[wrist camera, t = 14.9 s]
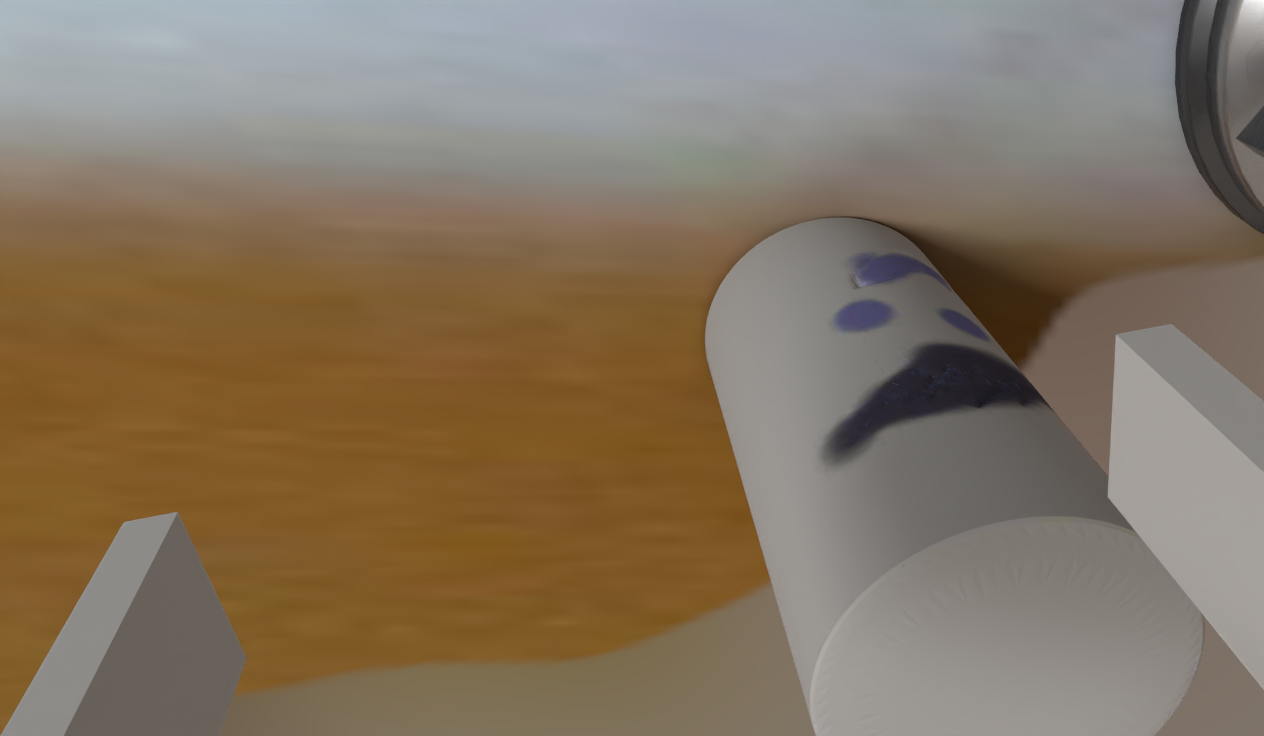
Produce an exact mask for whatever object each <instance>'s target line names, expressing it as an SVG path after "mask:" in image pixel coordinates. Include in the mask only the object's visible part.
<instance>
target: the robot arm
mask: <svg viewBox="0 0 1264 736" xmlns="http://www.w3.org/2000/svg"><path fill="white" fill-rule="evenodd" d="M1112 401H1113V402H1112V420H1111V441H1110V459H1109V479H1108V498H1109V499H1110V500H1111V502H1112V503H1113V504H1114V505H1115V507H1116V508H1117V509H1118V510H1119V511H1120V513H1121V514H1122V515H1123V516H1124V518H1125V519H1126V520H1127V521H1128V523H1129V524H1130V525H1131V526H1132V528H1133V529H1134V530H1135V531H1136V532H1137V534H1138V535H1139V536H1140V537H1141V539H1142V540H1143V541H1144V542H1145V544H1146V545H1147V546H1148V547H1149V549H1150V550H1151V551H1152V552H1153V554H1154V555H1155V556H1156V557H1157V558H1158V560H1159V561H1160V562H1161V563H1162V565H1163V566H1164V567H1165V568H1166V570H1167V571H1168V572H1169V573H1170V575H1171V576H1172V577H1173V578H1174V579H1175V581H1176V582H1177V583H1178V584H1179V586H1180V587H1181V588H1182V589H1183V591H1184V592H1185V593H1186V594H1187V596H1188V597H1189V598H1190V599H1191V600H1192V602H1193V603H1194V604H1195V605H1196V607H1197V608H1198V609H1199V610H1200V612H1201V613H1202V614H1203V615H1204V617H1205V618H1206V619H1207V620H1208V621H1209V623H1210V624H1211V625H1212V626H1213V628H1214V629H1215V630H1216V631H1217V633H1218V634H1219V635H1220V636H1221V638H1222V639H1223V640H1224V641H1225V642H1226V644H1227V645H1228V646H1229V647H1230V649H1231V650H1232V651H1233V652H1234V654H1235V655H1236V656H1237V657H1238V658H1239V660H1240V661H1241V662H1242V664H1243V665H1244V666H1245V667H1246V668H1247V670H1248V671H1249V672H1250V673H1251V675H1252V676H1253V677H1254V678H1255V679H1256V681H1257V682H1258V683H1259V685H1260V686H1261V687H1262V688H1263V689H1264V401H1263V400H1262V399H1261V398H1260V397H1258V396H1257V395H1256V394H1255V393H1254V392H1253V391H1251V390H1250V389H1249V388H1248V387H1247V386H1245V385H1244V384H1243V383H1242V382H1241V381H1239V380H1238V379H1237V378H1236V377H1235V376H1233V375H1232V374H1231V373H1230V372H1229V371H1227V370H1226V369H1225V368H1224V367H1223V366H1222V365H1220V364H1219V363H1218V362H1217V361H1216V360H1214V359H1213V358H1212V357H1211V356H1210V355H1208V354H1207V353H1206V352H1205V351H1204V350H1202V349H1201V348H1200V347H1199V346H1198V345H1196V344H1195V343H1194V342H1193V341H1192V340H1190V339H1189V338H1188V337H1187V336H1185V335H1184V334H1183V333H1182V332H1181V331H1180V330H1178V329H1177V328H1176V327H1175V326H1174V325H1172V324H1167V325H1162V326H1157V327H1151V328H1146V329H1141V330H1135V331H1130V332H1125V333H1120V334H1116V342H1115V361H1114V381H1113V400H1112ZM245 661H246V656H245V654H244V651H243V649H242V647H241V645H240V643H239V641H238V639H237V637H236V634H235V632H234V630H233V628H232V626H231V624H230V622H229V620H228V618H227V615H226V613H225V611H224V609H223V607H222V605H221V603H220V601H219V598H218V596H217V594H216V592H215V590H214V588H213V586H212V584H211V581H210V579H209V577H208V575H207V573H206V571H205V569H204V567H203V565H202V562H201V560H200V558H199V556H198V554H197V552H196V550H195V548H194V545H193V543H192V541H191V539H190V537H189V535H188V533H187V531H186V528H185V526H184V524H183V522H182V520H181V518H180V516H179V514H178V512H175V513H170V514H165V515H159V516H154V517H149V518H143V519H138V520H133V521H128V522H124V523H123V525H122V526H121V528H120V530H119V532H118V533H117V535H116V537H115V538H114V540H113V542H112V544H111V545H110V547H109V549H108V551H107V552H106V554H105V556H104V557H103V559H102V561H101V563H100V564H99V566H98V568H97V570H96V571H95V573H94V575H93V577H92V578H91V580H90V582H89V583H88V585H87V587H86V589H85V590H84V592H83V594H82V596H81V597H80V599H79V601H78V603H77V604H76V606H75V608H74V609H73V611H72V613H71V615H70V616H69V618H68V620H67V622H66V623H65V625H64V627H63V629H62V630H61V632H60V634H59V635H58V637H57V639H56V641H55V642H54V644H53V646H52V648H51V649H50V651H49V653H48V655H47V656H46V658H45V660H44V661H43V663H42V665H41V667H40V668H39V670H38V672H37V674H36V675H35V677H34V679H33V681H32V682H31V684H30V686H29V687H28V689H27V691H26V693H25V694H24V696H23V698H22V700H21V701H20V703H19V705H18V707H17V708H16V710H15V712H14V713H13V715H12V717H11V719H10V720H9V722H8V724H7V726H6V727H5V729H4V731H3V733H2V734H1V736H220V733H221V730H222V727H223V725H224V721H225V718H226V716H227V713H228V710H229V707H230V704H231V701H232V698H233V695H234V693H235V690H236V687H237V684H238V681H239V678H240V675H241V672H242V669H243V666H244V663H245Z"/></svg>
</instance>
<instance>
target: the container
mask: <svg viewBox="0 0 1264 736" xmlns="http://www.w3.org/2000/svg"><path fill="white" fill-rule="evenodd" d="M705 349H706V356H707V361H708V365H709V368H710V372H711V375H712V379H713V382H714V386H715V389H716V393H717V396H718V400H719V403H720V406H721V410H722V413H723V417H724V420H725V424H726V427H727V431H728V434H729V438H730V441H731V444H732V448H733V451H734V455H735V458H736V462H737V465H738V469H739V472H740V476H741V479H742V482H743V486H744V489H745V493H746V496H747V500H748V503H749V507H750V510H751V514H752V517H753V520H754V524H755V527H756V531H757V534H758V538H759V541H760V545H761V548H762V552H763V555H764V558H765V562H766V565H767V569H768V572H769V576H770V579H771V583H772V586H773V589H774V593H775V596H776V600H777V603H778V607H779V610H780V614H781V617H782V621H783V624H784V628H785V631H786V634H787V638H788V641H789V645H790V648H791V652H792V655H793V659H794V662H795V665H796V669H797V673H798V676H799V679H800V683H801V686H802V689H803V693H804V697H805V700H806V704H807V707H808V710H809V714H810V717H811V721H812V724H813V728H814V731H815V734H816V736H1154V735H1155V734H1156V733H1157V732H1158V731H1159V730H1160V729H1161V727H1162V726H1163V725H1164V724H1165V723H1166V722H1167V721H1168V719H1169V718H1170V717H1171V716H1172V714H1173V713H1174V711H1175V710H1176V709H1177V708H1178V706H1179V705H1180V703H1181V702H1182V700H1183V698H1184V697H1185V695H1186V693H1187V692H1188V690H1189V687H1190V686H1191V684H1192V682H1193V679H1194V677H1195V675H1196V672H1197V669H1198V666H1199V663H1200V660H1201V656H1202V651H1203V645H1204V636H1205V623H1204V615H1203V614H1202V613H1201V612H1200V610H1199V609H1198V608H1197V607H1196V605H1195V604H1194V603H1193V602H1192V600H1191V599H1190V598H1189V597H1188V596H1187V594H1186V593H1185V592H1184V591H1183V589H1182V588H1181V587H1180V586H1179V584H1178V583H1177V582H1176V581H1175V579H1174V578H1173V577H1172V576H1171V575H1170V573H1169V572H1168V571H1167V570H1166V568H1165V567H1164V566H1163V565H1162V563H1161V562H1160V561H1159V560H1158V558H1157V557H1156V556H1155V555H1154V554H1153V552H1152V551H1151V550H1150V549H1149V547H1148V546H1147V545H1146V544H1145V542H1144V541H1143V540H1142V539H1141V537H1140V536H1139V535H1138V534H1137V532H1136V531H1135V530H1134V529H1133V528H1132V526H1131V525H1130V524H1129V523H1128V521H1127V520H1126V519H1125V518H1124V516H1123V515H1122V514H1121V513H1120V511H1119V510H1118V509H1117V508H1116V507H1115V505H1114V504H1113V503H1112V502H1111V500H1110V499H1109V498H1108V479H1109V477H1108V476H1107V475H1106V474H1105V472H1104V471H1103V470H1102V469H1101V468H1100V466H1099V465H1098V464H1097V463H1096V462H1095V460H1094V459H1093V458H1092V457H1091V456H1090V454H1089V453H1088V452H1087V451H1086V450H1085V448H1084V447H1083V446H1082V445H1081V443H1080V442H1079V441H1078V440H1077V439H1076V438H1075V436H1074V435H1073V434H1072V433H1071V431H1070V430H1069V429H1068V428H1067V427H1066V425H1065V424H1064V423H1063V422H1062V421H1061V419H1060V418H1059V417H1058V416H1057V415H1056V413H1055V412H1054V411H1053V410H1052V408H1051V407H1050V406H1049V405H1048V404H1047V402H1046V401H1045V400H1044V399H1043V397H1042V396H1041V395H1040V394H1039V393H1038V391H1037V390H1036V389H1035V388H1034V387H1033V385H1032V384H1031V383H1030V382H1029V381H1028V379H1027V378H1026V377H1025V376H1024V374H1023V373H1022V372H1021V371H1020V370H1019V368H1018V367H1017V366H1016V365H1015V364H1014V362H1013V361H1012V360H1011V359H1010V358H1009V356H1008V355H1007V354H1006V353H1005V351H1004V350H1003V349H1002V348H1001V347H1000V345H999V344H998V343H997V342H996V341H995V339H994V338H993V337H992V336H991V335H990V333H989V332H988V331H987V330H986V328H985V327H984V326H983V325H982V324H981V322H980V321H979V320H978V319H977V318H976V316H975V315H974V314H973V313H972V312H971V310H970V309H969V308H968V307H967V305H966V304H965V303H964V302H963V301H962V300H961V299H960V297H959V296H958V295H957V294H956V293H955V292H954V291H953V289H952V288H951V287H950V285H949V284H948V283H947V281H946V280H945V279H944V278H943V276H942V275H941V274H940V273H939V272H938V270H937V269H936V268H935V267H934V266H933V264H932V263H931V262H930V261H929V259H928V258H927V257H926V256H925V255H924V253H923V252H922V251H921V250H920V249H919V248H918V247H917V246H916V245H915V244H914V243H912V242H911V241H910V240H909V239H907V238H906V237H905V236H903V235H902V234H900V233H898V232H896V231H895V230H893V229H891V228H888V227H886V226H884V225H881V224H878V223H875V222H872V221H867V220H862V219H856V218H843V217H837V218H823V219H817V220H811V221H807V222H803V223H800V224H797V225H794V226H791V227H789V228H786V229H784V230H782V231H779V232H777V233H775V234H774V235H772V236H770V237H768V238H767V239H765V240H763V241H762V242H760V243H759V244H758V245H756V246H755V247H754V248H752V249H751V250H750V251H749V252H748V253H746V254H745V255H744V256H743V257H742V258H741V259H740V260H739V261H738V262H737V263H736V264H735V266H734V267H733V268H732V269H731V270H730V272H729V273H728V274H727V276H726V277H725V279H724V280H723V282H722V283H721V285H720V287H719V289H718V291H717V293H716V295H715V297H714V299H713V302H712V304H711V307H710V310H709V314H708V318H707V323H706V331H705Z"/></svg>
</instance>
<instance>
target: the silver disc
mask: <svg viewBox="0 0 1264 736" xmlns="http://www.w3.org/2000/svg"><path fill="white" fill-rule="evenodd" d="M1206 90H1207V108H1208V113H1209V118H1210V123H1211V128H1212V134H1213V137H1214V140H1215V143H1216V146H1217V148H1218V151H1219V154H1220V157H1221V160H1222V162H1223V164H1224V166H1225V168H1226V169H1227V171H1228V173H1229V175H1230V177H1231V178H1232V180H1233V182H1234V184H1235V185H1236V187H1237V188H1238V189H1239V190H1240V192H1241V193H1242V194H1243V195H1244V197H1245V198H1246V199H1247V200H1248V201H1249V203H1250V204H1251V205H1252V206H1253V207H1254V208H1255V209H1256V210H1258V211H1259V212H1260V213H1261V214H1262V215H1263V216H1264V0H1217V3H1216V8H1215V12H1214V17H1213V22H1212V27H1211V31H1210V36H1209V42H1208V54H1207V65H1206Z"/></svg>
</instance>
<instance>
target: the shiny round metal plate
mask: <svg viewBox="0 0 1264 736" xmlns="http://www.w3.org/2000/svg"><path fill="white" fill-rule="evenodd" d="M1216 3H1217V0H1185V1H1184V5H1183V9H1182V13H1181V18H1180V25H1179V32H1178V39H1177V46H1176V74H1175V86H1176V95H1177V103H1178V111H1179V118H1180V121H1181V125H1182V129H1183V132H1184V136H1185V140H1186V143H1187V146H1188V149H1189V151H1190V153H1191V155H1192V157H1193V159H1194V162H1195V164H1196V166H1197V168H1198V170H1199V172H1200V174H1201V175H1202V177H1203V178H1204V180H1205V181H1206V183H1207V184H1208V185H1209V187H1210V188H1211V190H1212V191H1213V193H1214V194H1215V195H1216V196H1217V197H1218V198H1219V199H1220V200H1221V201H1222V202H1223V203H1224V205H1225V206H1226V207H1227V208H1228V209H1229V210H1230V211H1231V212H1232V213H1233V214H1235V215H1236V216H1237V217H1239V218H1240V219H1242V220H1243V221H1244V222H1246V223H1247V224H1249V225H1250V226H1251V227H1253V228H1254V229H1256V230H1257V231H1259V232H1261V233H1262V234H1264V216H1263V215H1262V214H1261V213H1260V212H1259V211H1258V210H1256V209H1255V208H1254V207H1253V206H1252V205H1251V204H1250V203H1249V201H1248V200H1247V199H1246V198H1245V197H1244V195H1243V194H1242V193H1241V192H1240V190H1239V189H1238V188H1237V187H1236V185H1235V184H1234V182H1233V180H1232V178H1231V177H1230V175H1229V173H1228V171H1227V169H1226V168H1225V166H1224V164H1223V162H1222V160H1221V157H1220V154H1219V151H1218V148H1217V146H1216V143H1215V140H1214V137H1213V134H1212V128H1211V123H1210V118H1209V113H1208V108H1207V90H1206V65H1207V54H1208V42H1209V36H1210V31H1211V27H1212V22H1213V17H1214V12H1215V8H1216Z"/></svg>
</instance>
